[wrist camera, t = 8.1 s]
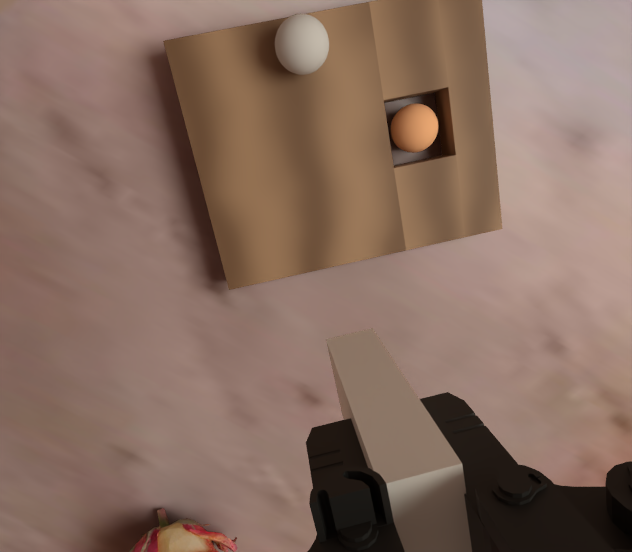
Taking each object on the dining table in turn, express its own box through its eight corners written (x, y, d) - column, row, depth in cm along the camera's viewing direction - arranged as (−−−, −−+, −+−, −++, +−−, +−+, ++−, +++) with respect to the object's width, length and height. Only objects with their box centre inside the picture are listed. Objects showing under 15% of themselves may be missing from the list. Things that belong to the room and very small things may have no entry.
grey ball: (280, 83, 28) (282, 74, 25) (268, 28, 28) (269, 11, 24) (329, 73, 29) (337, 63, 26) (319, 18, 28) (326, 0, 25)
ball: (384, 158, 32) (421, 153, 29) (377, 110, 31) (415, 101, 28) (413, 151, 34) (450, 145, 31) (407, 106, 33) (445, 96, 30)
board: (231, 280, 34) (229, 289, 31) (171, 50, 30) (163, 41, 27) (485, 224, 35) (502, 228, 32) (463, -6, 31) (480, -20, 28)
